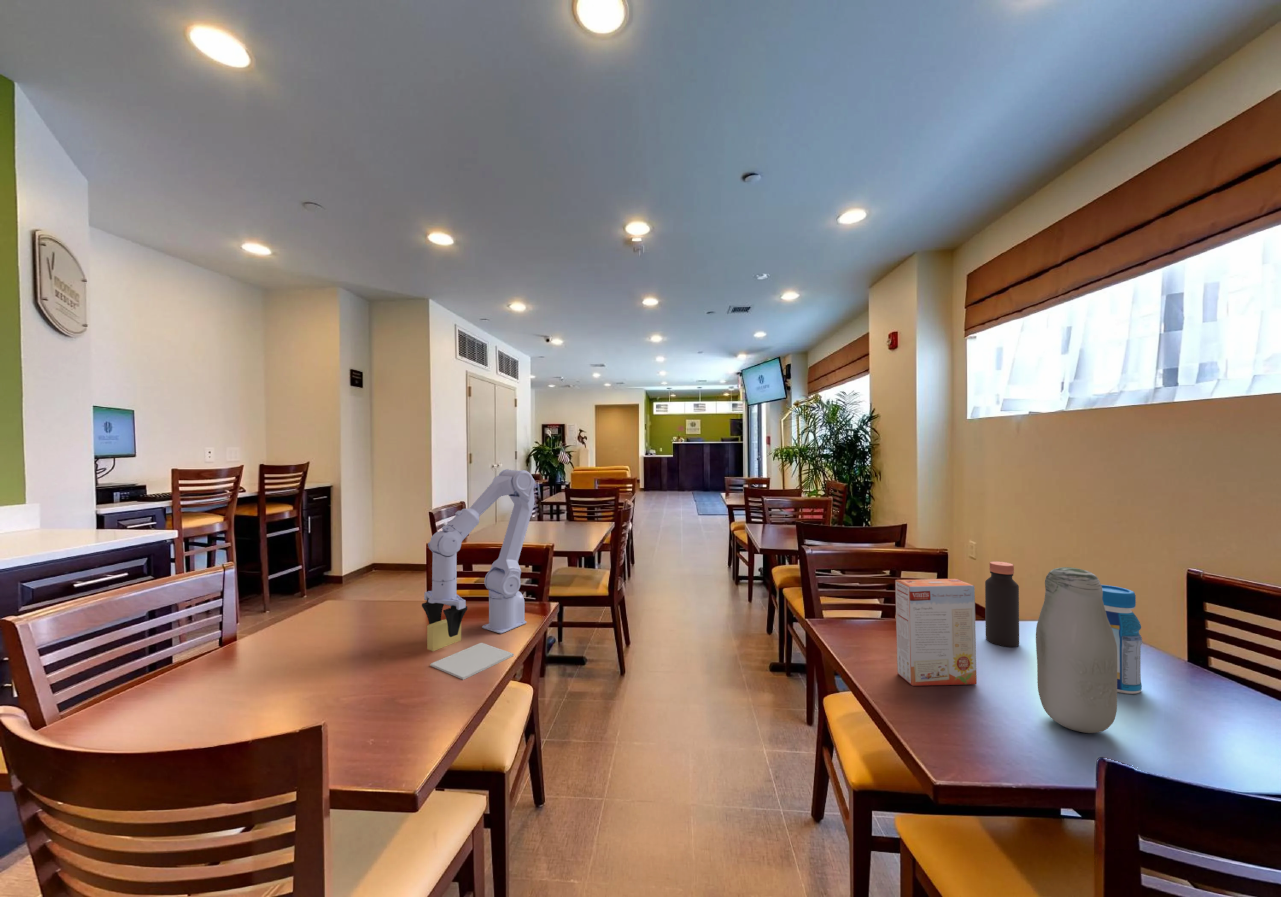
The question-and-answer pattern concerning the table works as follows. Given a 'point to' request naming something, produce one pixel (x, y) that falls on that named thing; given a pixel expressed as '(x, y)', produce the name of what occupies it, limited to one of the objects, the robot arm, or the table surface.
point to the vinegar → (1002, 605)
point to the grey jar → (1076, 652)
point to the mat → (471, 660)
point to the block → (440, 635)
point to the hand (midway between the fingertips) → (444, 632)
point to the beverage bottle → (1124, 636)
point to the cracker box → (936, 631)
